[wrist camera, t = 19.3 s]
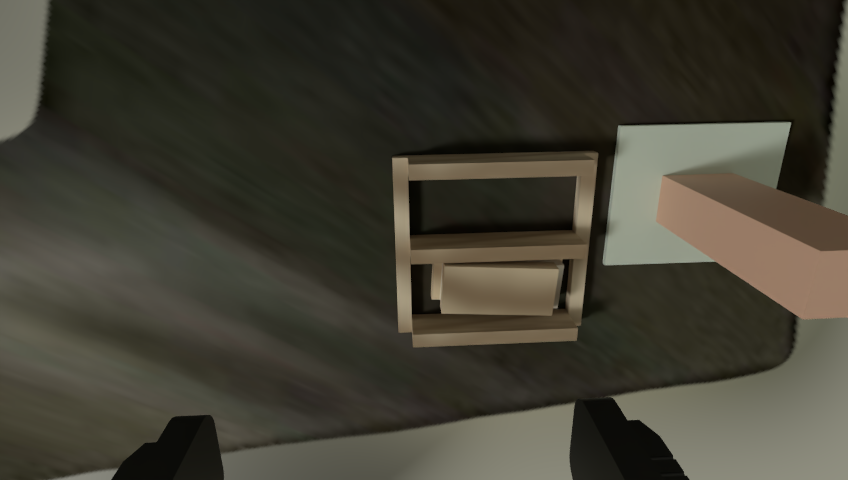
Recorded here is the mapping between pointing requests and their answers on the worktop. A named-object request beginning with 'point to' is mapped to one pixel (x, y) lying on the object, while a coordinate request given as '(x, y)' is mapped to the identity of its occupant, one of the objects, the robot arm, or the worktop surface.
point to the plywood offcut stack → (498, 287)
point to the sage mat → (679, 155)
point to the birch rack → (493, 247)
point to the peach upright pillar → (763, 238)
